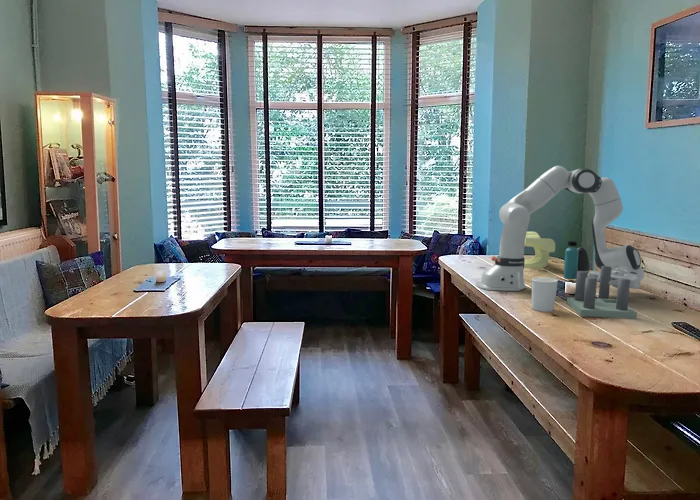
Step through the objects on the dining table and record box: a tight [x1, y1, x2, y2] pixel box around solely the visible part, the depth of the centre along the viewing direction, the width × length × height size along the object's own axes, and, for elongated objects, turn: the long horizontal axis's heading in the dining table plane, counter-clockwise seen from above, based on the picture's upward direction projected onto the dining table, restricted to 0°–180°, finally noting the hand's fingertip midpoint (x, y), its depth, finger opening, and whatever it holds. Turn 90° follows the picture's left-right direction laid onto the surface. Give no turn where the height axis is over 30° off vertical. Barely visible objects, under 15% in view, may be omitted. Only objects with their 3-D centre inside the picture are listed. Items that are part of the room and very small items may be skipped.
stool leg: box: [597, 266, 612, 299], centre depth 234 cm, size 4×4×14 cm
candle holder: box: [531, 276, 559, 313], centre depth 218 cm, size 10×10×12 cm
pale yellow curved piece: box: [524, 231, 556, 269], centre depth 313 cm, size 30×16×18 cm, turn 178°
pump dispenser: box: [576, 246, 591, 274], centre depth 286 cm, size 10×10×15 cm
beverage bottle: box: [562, 240, 579, 280], centre depth 272 cm, size 6×7×20 cm
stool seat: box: [566, 271, 637, 320], centre depth 217 cm, size 20×20×14 cm
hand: (604, 281), depth 234 cm, fingers closed on stool leg, 4 cm apart
